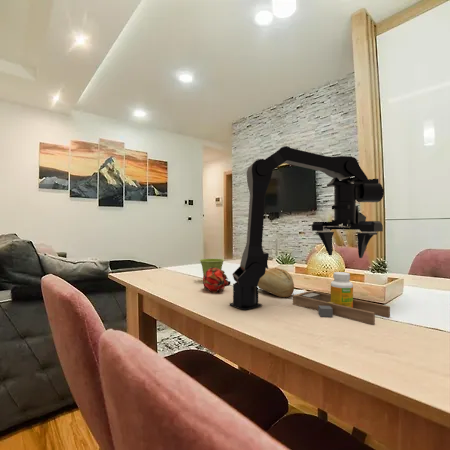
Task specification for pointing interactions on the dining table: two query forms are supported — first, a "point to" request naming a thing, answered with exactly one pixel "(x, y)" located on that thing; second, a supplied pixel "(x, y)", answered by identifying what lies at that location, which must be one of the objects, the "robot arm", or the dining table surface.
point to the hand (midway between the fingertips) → (345, 256)
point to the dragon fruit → (215, 279)
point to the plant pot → (211, 264)
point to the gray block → (325, 311)
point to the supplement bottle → (342, 289)
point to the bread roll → (277, 282)
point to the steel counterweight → (312, 296)
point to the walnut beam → (344, 307)
